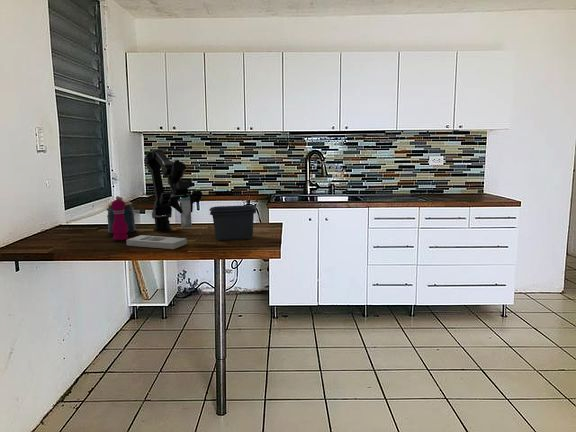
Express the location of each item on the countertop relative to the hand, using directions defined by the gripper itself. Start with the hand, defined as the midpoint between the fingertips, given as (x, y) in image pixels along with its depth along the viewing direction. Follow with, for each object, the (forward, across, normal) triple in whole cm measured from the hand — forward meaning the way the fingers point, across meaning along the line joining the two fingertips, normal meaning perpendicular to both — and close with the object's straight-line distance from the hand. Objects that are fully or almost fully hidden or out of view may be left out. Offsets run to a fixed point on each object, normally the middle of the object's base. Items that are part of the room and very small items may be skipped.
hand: (186, 212), depth 204 cm
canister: (-21, -18, +40) cm, 49 cm away
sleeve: (+4, 0, +6) cm, 7 cm away
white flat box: (+7, -13, +12) cm, 19 cm away
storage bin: (+13, +21, +7) cm, 25 cm away
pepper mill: (-8, -23, +28) cm, 37 cm away
